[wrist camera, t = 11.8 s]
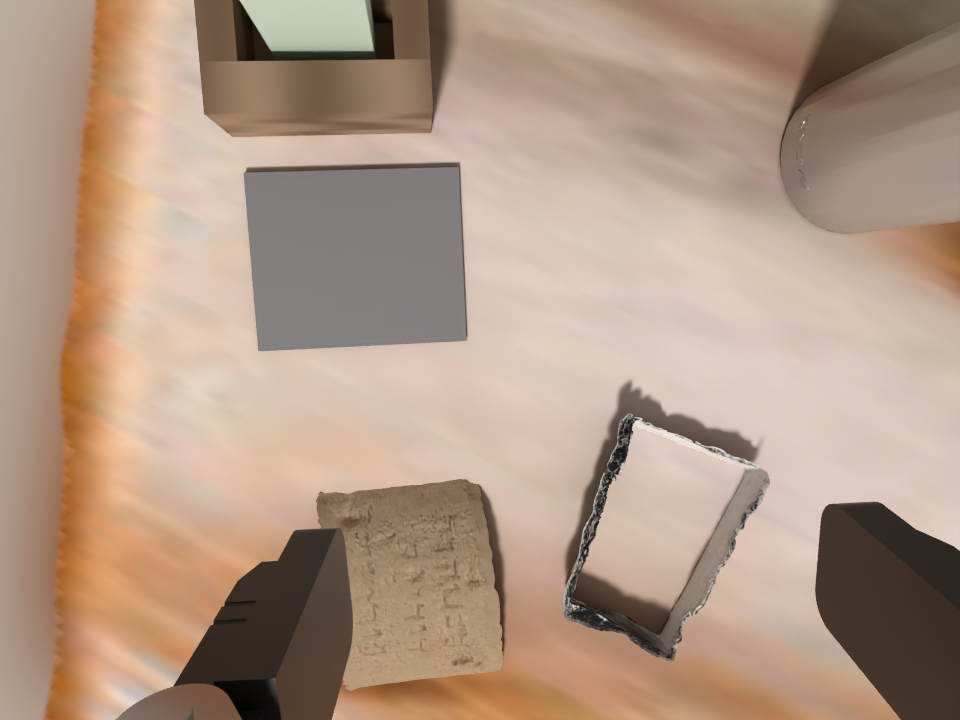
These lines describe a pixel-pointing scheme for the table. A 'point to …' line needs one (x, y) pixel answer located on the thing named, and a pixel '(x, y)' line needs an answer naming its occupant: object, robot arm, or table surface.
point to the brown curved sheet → (417, 582)
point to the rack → (315, 77)
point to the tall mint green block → (315, 28)
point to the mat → (356, 257)
